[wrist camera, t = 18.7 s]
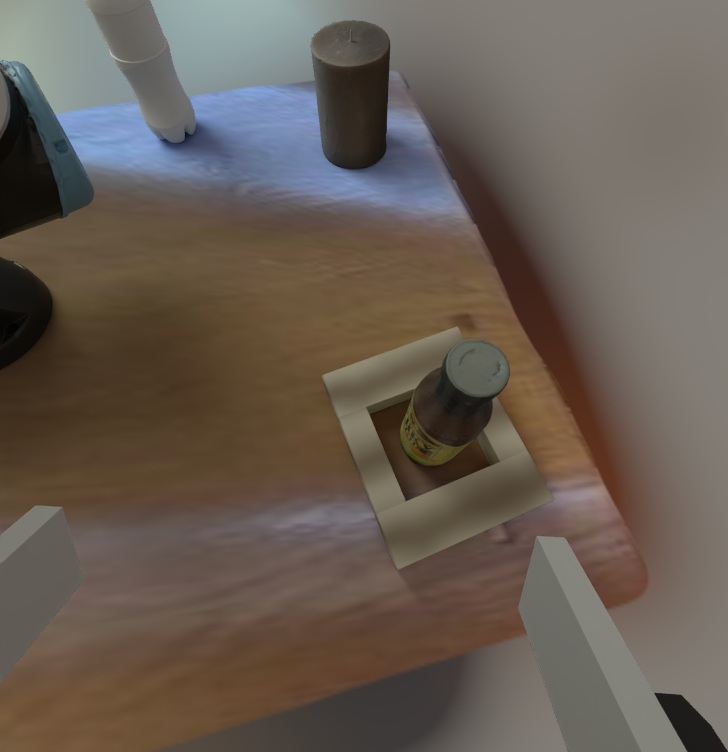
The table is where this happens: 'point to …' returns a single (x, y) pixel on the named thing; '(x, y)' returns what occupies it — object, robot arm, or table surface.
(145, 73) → the water bottle
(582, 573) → the robot arm
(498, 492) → the birch stand
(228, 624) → the table surface
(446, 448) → the sauce bottle
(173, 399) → the table surface
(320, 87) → the pillar candle
